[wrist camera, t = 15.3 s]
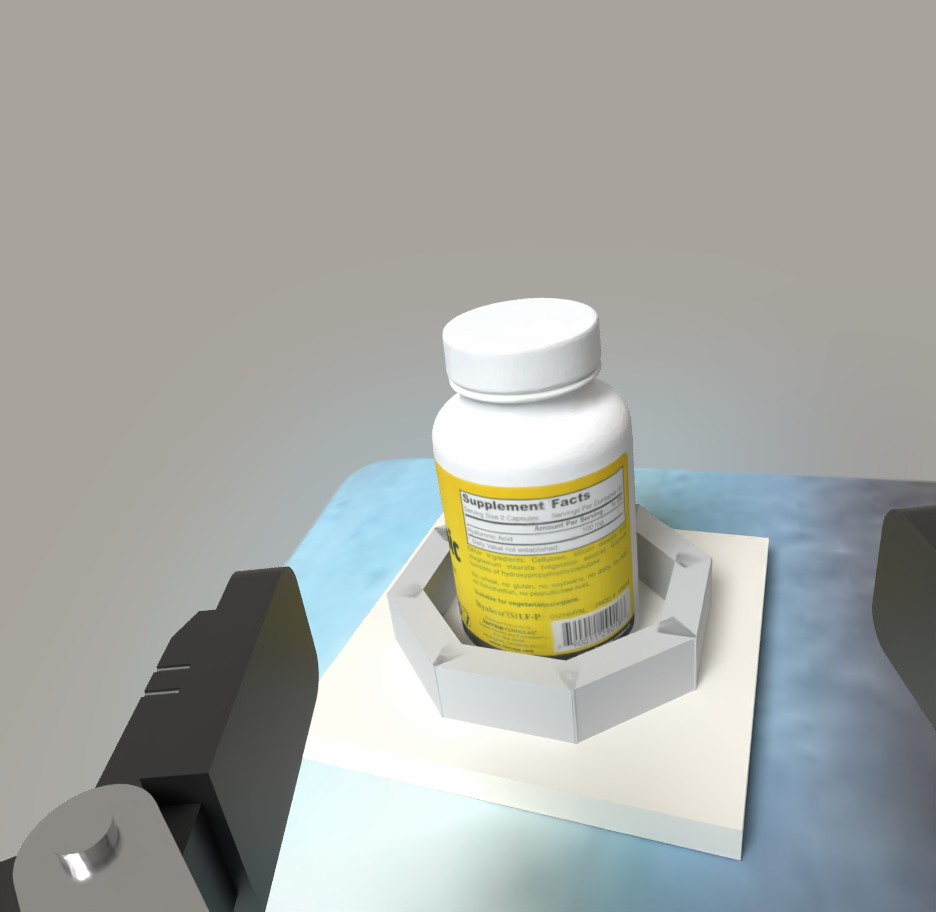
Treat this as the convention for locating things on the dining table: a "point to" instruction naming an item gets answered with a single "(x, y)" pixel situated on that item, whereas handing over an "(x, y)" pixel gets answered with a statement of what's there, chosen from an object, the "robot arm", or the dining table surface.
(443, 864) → the dining table surface
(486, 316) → the supplement bottle
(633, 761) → the seat plate
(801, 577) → the dining table surface
